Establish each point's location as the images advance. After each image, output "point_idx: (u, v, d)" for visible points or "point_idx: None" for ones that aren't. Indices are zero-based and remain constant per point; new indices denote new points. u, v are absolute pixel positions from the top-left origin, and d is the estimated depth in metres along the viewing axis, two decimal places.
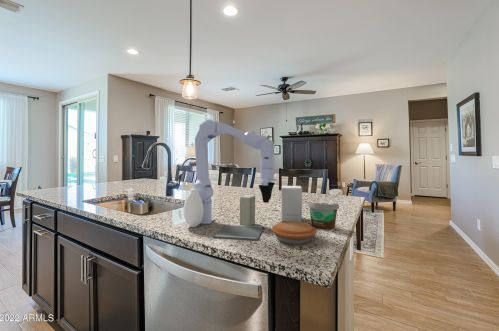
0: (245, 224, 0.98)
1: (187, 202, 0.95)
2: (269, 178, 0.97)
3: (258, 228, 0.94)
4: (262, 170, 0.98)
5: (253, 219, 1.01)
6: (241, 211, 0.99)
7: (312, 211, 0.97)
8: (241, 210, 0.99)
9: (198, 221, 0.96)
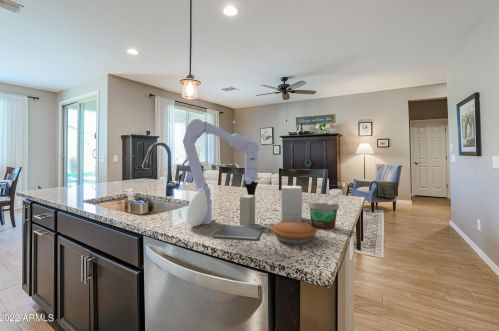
0: (245, 224, 0.98)
1: (193, 201, 0.94)
2: (253, 177, 1.06)
3: (258, 228, 0.94)
4: (246, 170, 1.07)
5: (253, 219, 1.01)
6: (241, 211, 0.99)
7: (312, 211, 0.97)
8: (241, 210, 0.99)
9: (200, 222, 0.96)
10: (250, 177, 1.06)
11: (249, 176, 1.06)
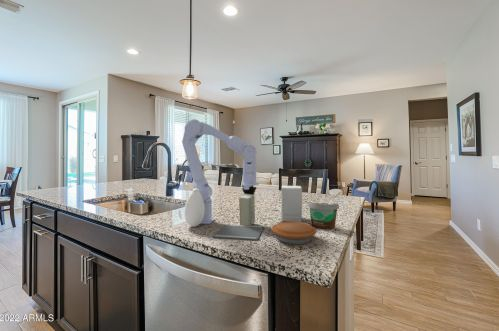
0: (245, 224, 0.98)
1: (189, 202, 0.94)
2: (251, 182, 1.02)
3: (258, 228, 0.94)
4: (244, 175, 1.02)
5: (253, 218, 1.01)
6: (241, 211, 0.98)
7: (312, 211, 0.97)
8: (240, 210, 0.98)
9: (199, 221, 0.96)
10: (248, 182, 1.02)
11: (247, 181, 1.02)
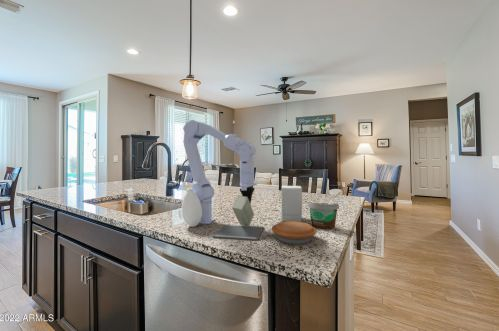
0: (244, 224, 0.98)
1: (184, 202, 0.95)
2: (248, 183, 0.96)
3: (258, 228, 0.94)
4: (241, 175, 0.97)
5: (251, 215, 0.99)
6: (237, 216, 0.95)
7: (312, 211, 0.97)
8: (237, 216, 0.95)
9: (197, 220, 0.96)
10: (246, 182, 0.96)
11: (245, 181, 0.96)
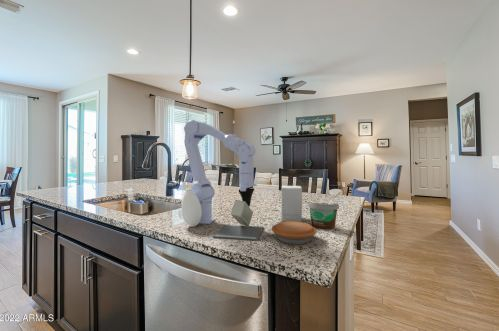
0: (244, 224, 0.98)
1: (183, 202, 0.95)
2: (248, 183, 0.95)
3: (258, 228, 0.94)
4: (241, 175, 0.95)
5: (250, 214, 0.98)
6: (237, 219, 0.94)
7: (312, 211, 0.97)
8: (236, 219, 0.94)
9: (197, 219, 0.96)
10: (245, 183, 0.95)
11: (244, 182, 0.95)
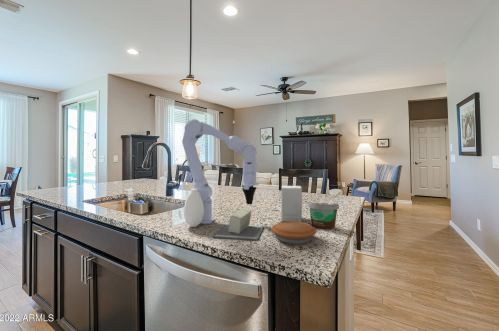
0: None
1: (187, 202, 0.95)
2: (251, 182, 1.02)
3: (258, 228, 0.94)
4: (244, 175, 1.02)
5: (249, 216, 0.96)
6: None
7: (312, 211, 0.97)
8: None
9: (198, 221, 0.96)
10: (248, 182, 1.01)
11: (247, 181, 1.02)
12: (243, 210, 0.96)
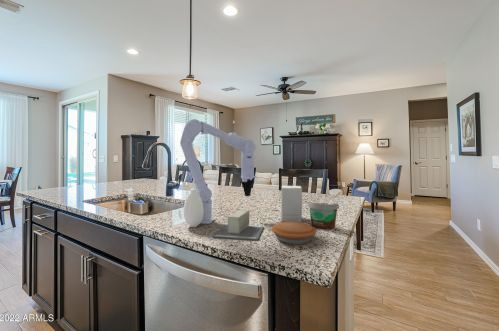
0: None
1: (187, 202, 0.95)
2: (249, 175, 1.08)
3: (258, 228, 0.94)
4: (243, 168, 1.09)
5: (247, 215, 0.96)
6: None
7: (312, 211, 0.97)
8: None
9: (198, 221, 0.96)
10: (246, 175, 1.08)
11: (245, 174, 1.08)
12: (241, 211, 0.97)
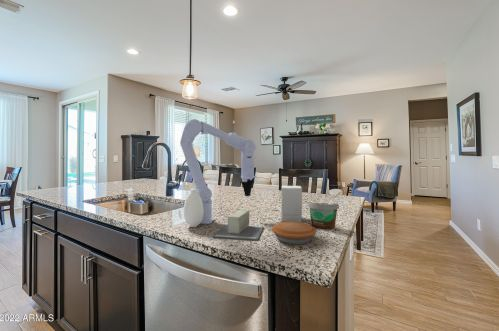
0: None
1: (187, 202, 0.95)
2: (249, 175, 1.08)
3: (258, 228, 0.94)
4: (243, 168, 1.09)
5: (247, 215, 0.96)
6: None
7: (312, 211, 0.97)
8: None
9: (198, 221, 0.96)
10: (246, 175, 1.08)
11: (245, 174, 1.08)
12: (241, 211, 0.97)
